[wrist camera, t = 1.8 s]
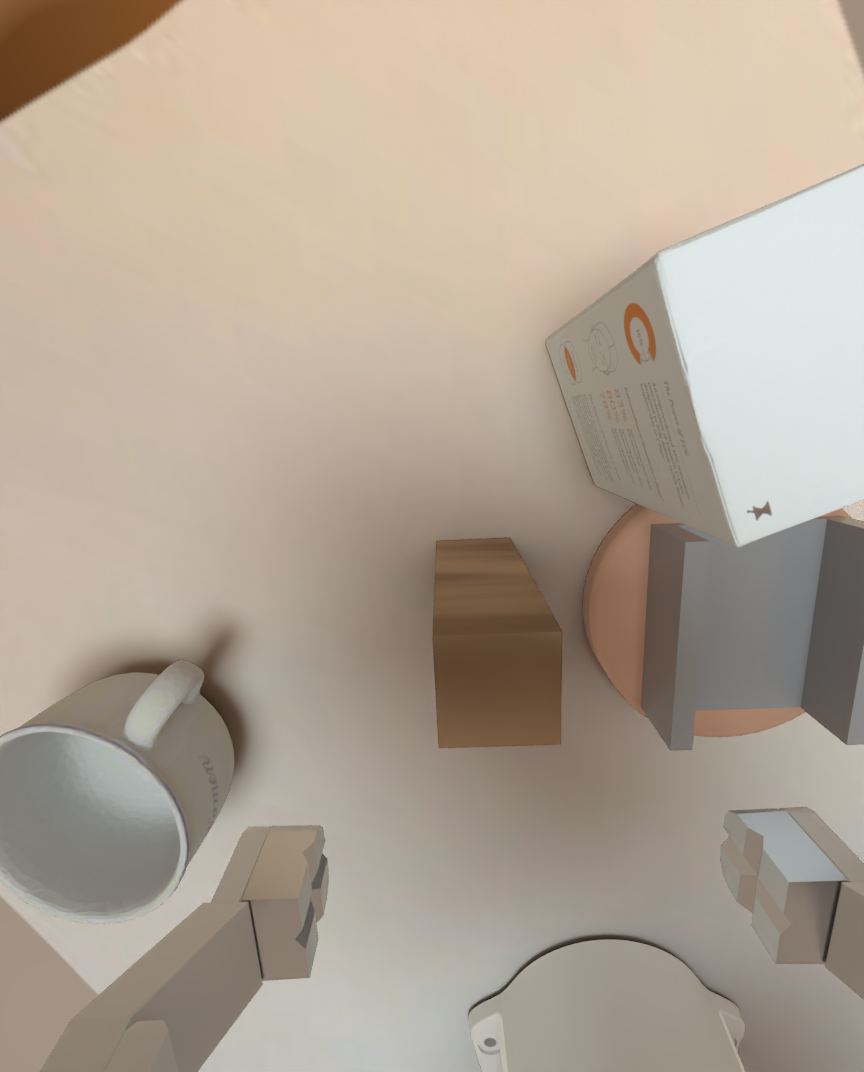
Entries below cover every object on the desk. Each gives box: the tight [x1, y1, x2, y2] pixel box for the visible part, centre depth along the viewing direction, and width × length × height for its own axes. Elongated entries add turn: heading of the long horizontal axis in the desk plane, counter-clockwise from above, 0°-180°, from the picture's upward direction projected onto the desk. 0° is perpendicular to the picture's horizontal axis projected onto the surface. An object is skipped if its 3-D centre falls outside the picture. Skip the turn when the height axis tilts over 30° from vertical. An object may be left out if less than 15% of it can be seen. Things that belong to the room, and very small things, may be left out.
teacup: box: [0, 660, 234, 924], centre depth 26 cm, size 14×11×8 cm
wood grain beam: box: [433, 538, 562, 748], centre depth 22 cm, size 4×4×12 cm
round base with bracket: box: [583, 504, 864, 750], centre depth 25 cm, size 14×14×6 cm
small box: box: [546, 164, 864, 547], centre depth 19 cm, size 8×6×13 cm
